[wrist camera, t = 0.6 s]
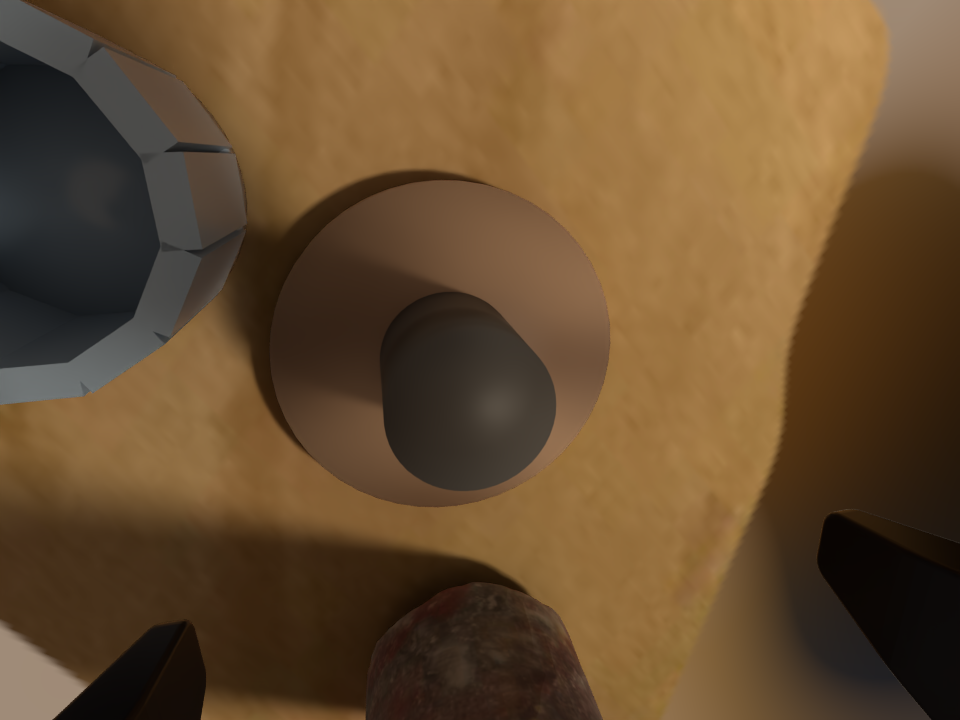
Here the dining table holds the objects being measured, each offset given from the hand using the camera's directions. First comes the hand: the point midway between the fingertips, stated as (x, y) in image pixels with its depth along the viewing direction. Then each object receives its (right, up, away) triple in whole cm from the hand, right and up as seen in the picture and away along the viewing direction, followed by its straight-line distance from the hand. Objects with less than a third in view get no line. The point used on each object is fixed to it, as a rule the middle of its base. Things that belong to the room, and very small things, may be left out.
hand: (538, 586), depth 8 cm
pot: (-10, +7, +6) cm, 14 cm away
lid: (-2, +3, +10) cm, 11 cm away
